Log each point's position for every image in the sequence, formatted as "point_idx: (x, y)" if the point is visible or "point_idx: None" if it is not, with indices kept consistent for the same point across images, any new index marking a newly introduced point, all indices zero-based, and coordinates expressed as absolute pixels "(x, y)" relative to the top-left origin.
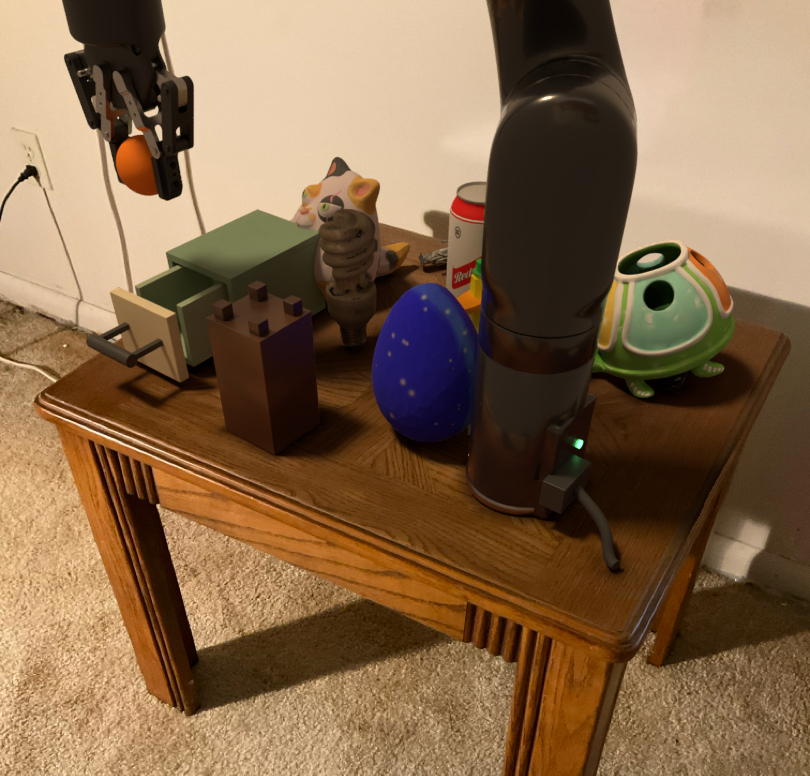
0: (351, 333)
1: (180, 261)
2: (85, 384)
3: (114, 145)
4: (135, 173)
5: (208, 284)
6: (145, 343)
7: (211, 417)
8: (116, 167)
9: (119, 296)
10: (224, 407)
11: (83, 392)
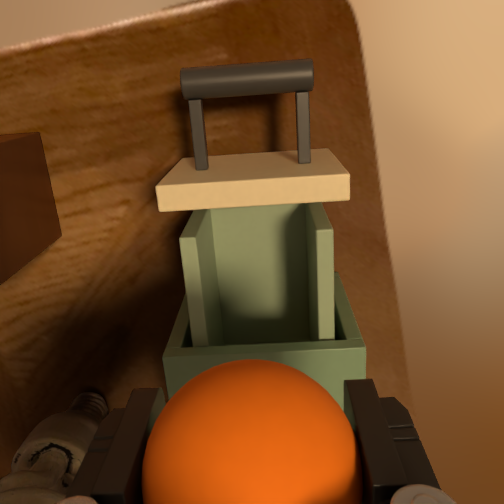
0: (67, 410)
1: (316, 345)
2: (330, 47)
3: (374, 482)
4: (186, 402)
5: None
6: (256, 161)
7: (86, 138)
8: (375, 412)
9: (312, 175)
10: (11, 138)
11: (311, 28)
